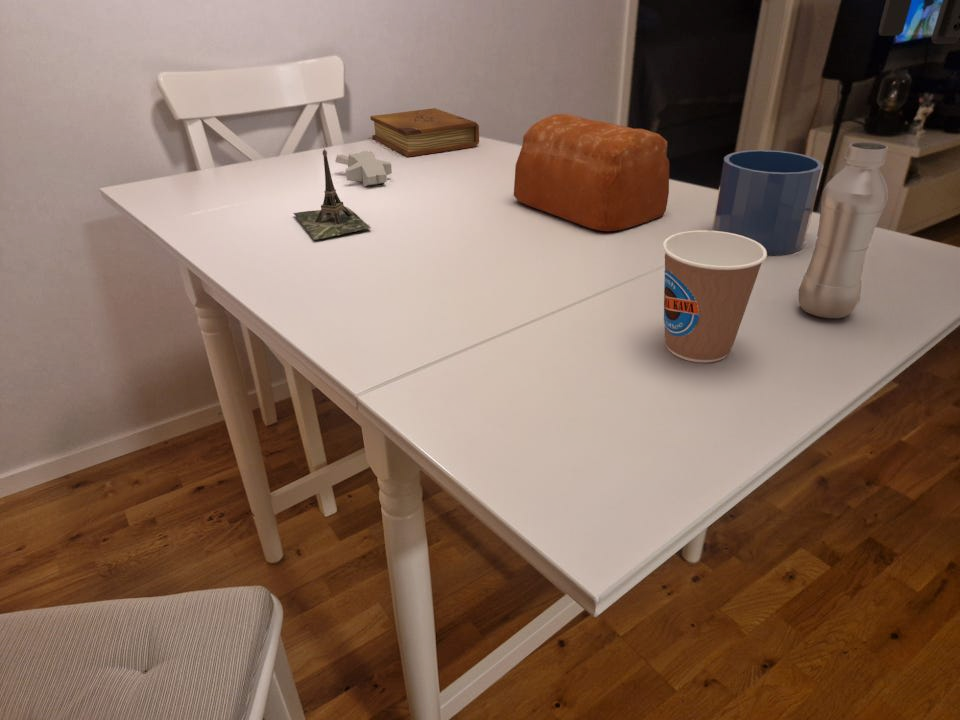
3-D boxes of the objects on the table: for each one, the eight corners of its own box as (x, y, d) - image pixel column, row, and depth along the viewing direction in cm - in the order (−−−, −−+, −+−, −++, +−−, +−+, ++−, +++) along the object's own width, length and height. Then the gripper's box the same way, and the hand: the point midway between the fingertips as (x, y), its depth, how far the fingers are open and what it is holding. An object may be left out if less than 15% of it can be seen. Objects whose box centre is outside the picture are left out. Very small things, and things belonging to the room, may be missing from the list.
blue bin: (780, 223, 108) (796, 148, 102) (820, 253, 96) (841, 171, 90) (699, 226, 108) (711, 151, 101) (730, 257, 96) (745, 175, 90)
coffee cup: (635, 332, 77) (645, 235, 71) (714, 321, 79) (731, 225, 73) (677, 377, 69) (693, 272, 63) (764, 363, 71) (789, 259, 65)
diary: (479, 146, 158) (478, 121, 155) (407, 157, 150) (405, 131, 148) (438, 129, 175) (437, 106, 172) (372, 138, 168) (370, 115, 165)
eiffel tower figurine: (292, 216, 117) (278, 138, 110) (346, 206, 121) (337, 131, 114) (314, 242, 105) (300, 158, 98) (374, 231, 109) (365, 149, 102)
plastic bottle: (864, 324, 78) (918, 152, 67) (807, 325, 78) (852, 154, 68) (838, 300, 83) (884, 138, 73) (785, 301, 83) (823, 139, 73)
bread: (604, 237, 104) (612, 141, 96) (507, 201, 121) (507, 117, 113) (674, 214, 113) (686, 124, 105) (574, 184, 130) (578, 104, 122)
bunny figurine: (353, 171, 126) (328, 146, 137) (355, 196, 129) (331, 170, 140) (399, 164, 130) (371, 140, 141) (400, 188, 133) (373, 164, 144)
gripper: (1090, -190, 50) (1005, 46, 58) (962, -159, 62) (907, 32, 70) (994, -189, 50) (923, 48, 58) (885, -158, 62) (839, 33, 70)
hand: (914, 39), depth 64 cm, fingers open, 8 cm apart
